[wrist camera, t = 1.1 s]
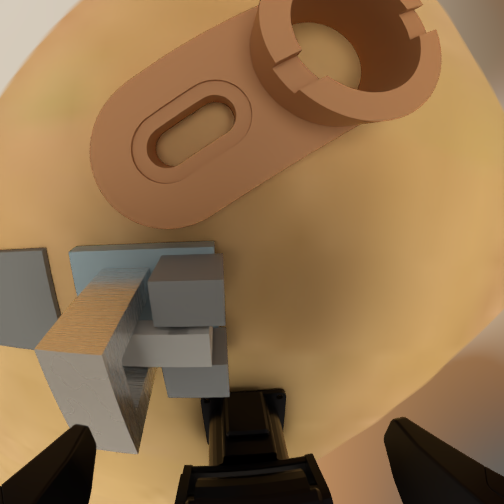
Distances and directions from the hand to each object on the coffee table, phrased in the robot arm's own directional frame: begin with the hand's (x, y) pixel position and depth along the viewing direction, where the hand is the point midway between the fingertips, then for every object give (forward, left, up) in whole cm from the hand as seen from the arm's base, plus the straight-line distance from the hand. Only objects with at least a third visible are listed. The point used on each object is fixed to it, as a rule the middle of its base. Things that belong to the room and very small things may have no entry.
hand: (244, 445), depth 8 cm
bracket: (+10, -1, -13) cm, 17 cm away
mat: (-2, +16, -13) cm, 21 cm away
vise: (-2, +5, -13) cm, 14 cm away
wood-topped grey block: (-2, +6, -12) cm, 13 cm away
